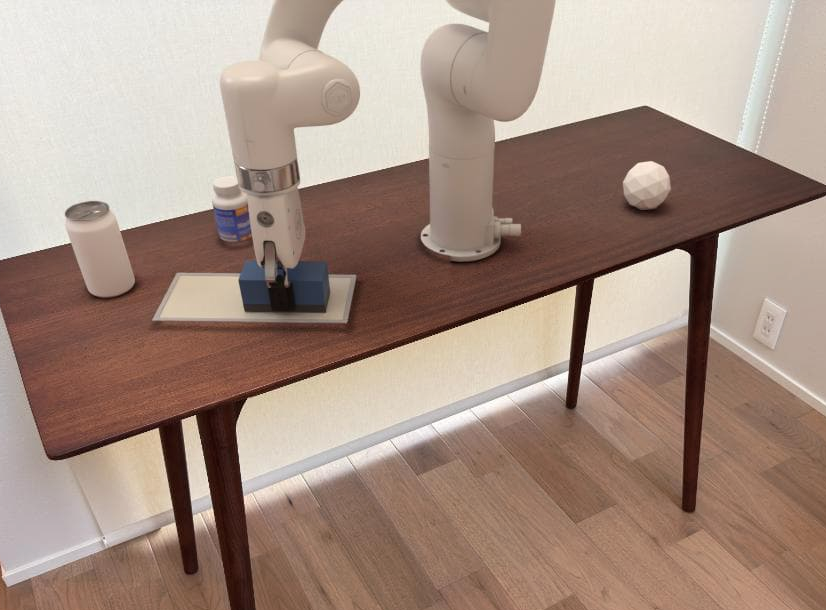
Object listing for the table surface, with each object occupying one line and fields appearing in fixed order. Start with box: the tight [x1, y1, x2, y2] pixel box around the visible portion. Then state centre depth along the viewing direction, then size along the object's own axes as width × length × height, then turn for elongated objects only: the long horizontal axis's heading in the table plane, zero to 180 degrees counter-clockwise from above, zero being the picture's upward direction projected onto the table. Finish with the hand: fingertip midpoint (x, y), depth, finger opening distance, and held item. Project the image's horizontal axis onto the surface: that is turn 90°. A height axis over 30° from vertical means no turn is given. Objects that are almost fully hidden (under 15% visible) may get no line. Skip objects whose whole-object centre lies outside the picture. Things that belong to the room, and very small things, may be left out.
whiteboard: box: [151, 272, 357, 324], centre depth 109 cm, size 26×12×1 cm, turn 90°
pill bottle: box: [211, 175, 252, 243], centre depth 120 cm, size 5×5×10 cm
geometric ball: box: [622, 160, 672, 211], centre depth 131 cm, size 8×8×8 cm
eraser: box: [238, 260, 330, 312], centre depth 106 cm, size 11×5×5 cm, turn 90°
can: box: [64, 200, 136, 299], centre depth 108 cm, size 6×6×12 cm
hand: (287, 296), depth 107 cm, fingers closed on eraser, 5 cm apart
